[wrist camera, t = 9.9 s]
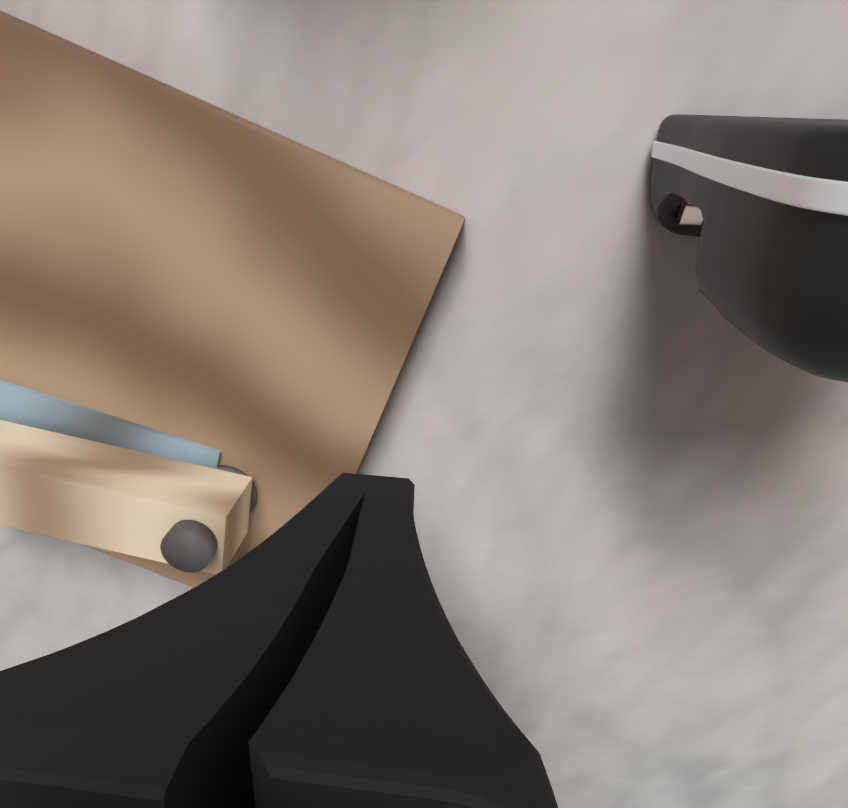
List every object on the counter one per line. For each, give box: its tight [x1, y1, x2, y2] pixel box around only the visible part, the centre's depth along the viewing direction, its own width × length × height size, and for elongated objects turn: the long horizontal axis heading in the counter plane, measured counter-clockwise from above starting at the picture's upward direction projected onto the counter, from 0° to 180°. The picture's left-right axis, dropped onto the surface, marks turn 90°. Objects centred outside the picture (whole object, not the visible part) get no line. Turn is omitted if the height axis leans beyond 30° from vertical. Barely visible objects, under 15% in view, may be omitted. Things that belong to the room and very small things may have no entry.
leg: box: [0, 420, 252, 575], centre depth 22 cm, size 11×2×3 cm, turn 79°
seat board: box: [0, 11, 465, 588], centre depth 22 cm, size 17×15×2 cm
